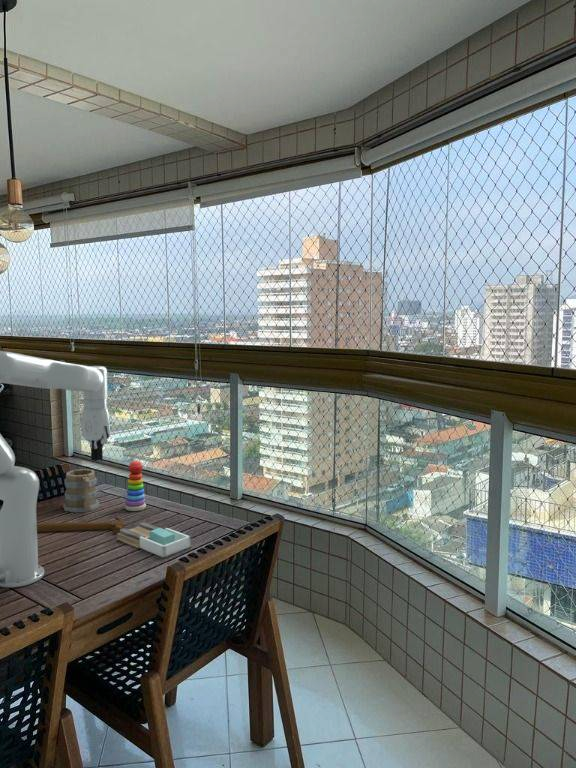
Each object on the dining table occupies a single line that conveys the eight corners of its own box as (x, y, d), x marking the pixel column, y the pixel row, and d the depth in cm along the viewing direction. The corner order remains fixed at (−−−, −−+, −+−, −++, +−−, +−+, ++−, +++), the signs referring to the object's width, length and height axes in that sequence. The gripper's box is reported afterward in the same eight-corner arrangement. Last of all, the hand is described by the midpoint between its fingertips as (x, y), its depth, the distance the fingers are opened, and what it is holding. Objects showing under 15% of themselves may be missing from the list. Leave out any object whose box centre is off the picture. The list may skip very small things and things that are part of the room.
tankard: (62, 504, 218) (61, 467, 216) (95, 500, 224) (94, 464, 222) (68, 520, 200) (67, 480, 199) (104, 515, 206) (103, 476, 205)
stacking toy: (142, 512, 210) (142, 464, 208) (122, 511, 210) (121, 463, 208) (148, 505, 218) (147, 459, 216) (128, 505, 218) (127, 458, 216)
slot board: (137, 547, 176) (137, 538, 176) (117, 539, 183) (116, 530, 183) (167, 537, 186) (166, 528, 185) (146, 529, 192) (146, 521, 192)
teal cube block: (157, 546, 177) (157, 534, 176) (150, 542, 179) (149, 531, 179) (167, 542, 180) (167, 530, 179) (159, 539, 182) (159, 527, 182)
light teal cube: (165, 549, 174) (164, 537, 173) (157, 546, 176) (156, 534, 176) (174, 545, 177) (174, 533, 177) (166, 542, 179) (166, 530, 179)
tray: (163, 557, 169) (163, 546, 169) (139, 547, 176) (139, 537, 176) (190, 546, 177) (190, 536, 177) (166, 537, 185) (166, 527, 185)
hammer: (30, 537, 185) (121, 535, 188) (29, 528, 184) (121, 526, 188) (41, 525, 196) (127, 523, 199) (41, 516, 196) (127, 515, 199)
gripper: (72, 403, 180) (73, 458, 182) (98, 407, 171) (99, 465, 172) (93, 401, 186) (94, 454, 187) (119, 405, 176) (120, 461, 178)
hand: (96, 459), depth 180 cm, fingers closed
